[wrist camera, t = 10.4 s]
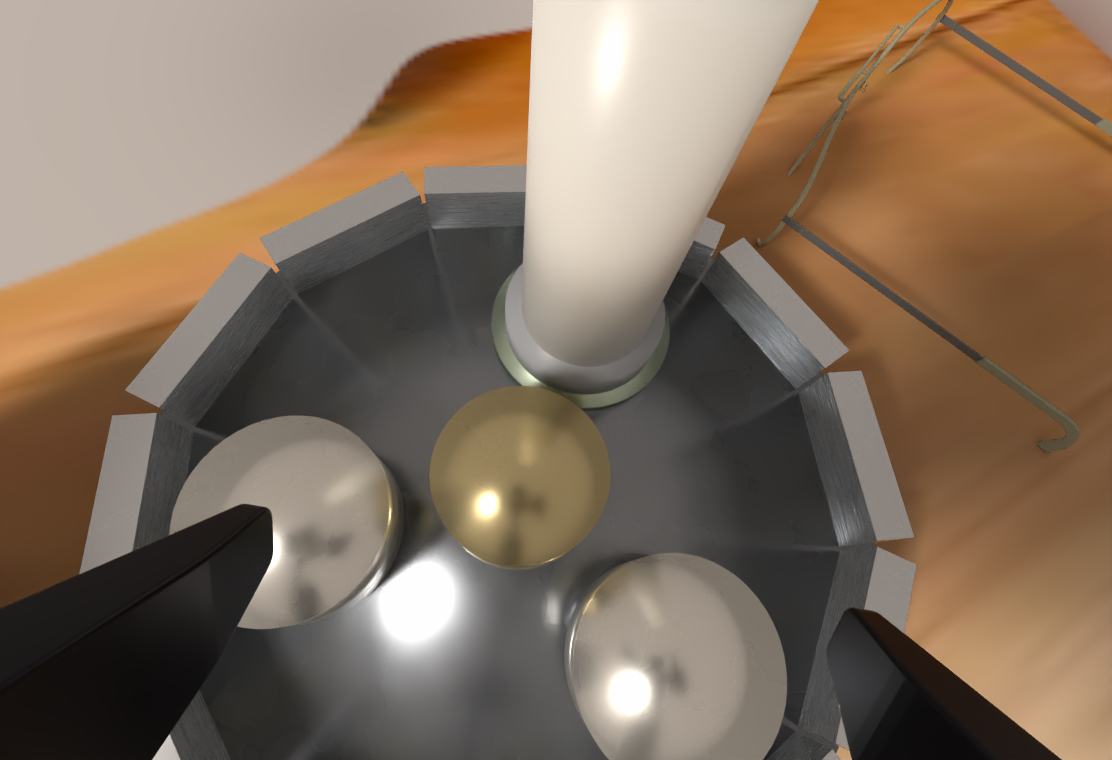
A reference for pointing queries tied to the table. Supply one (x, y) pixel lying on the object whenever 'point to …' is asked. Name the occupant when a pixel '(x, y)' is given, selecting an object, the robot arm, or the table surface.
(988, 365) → the eyeglasses
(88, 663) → the robot arm
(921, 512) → the table surface
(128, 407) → the table surface
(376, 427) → the carrier plate
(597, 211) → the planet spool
